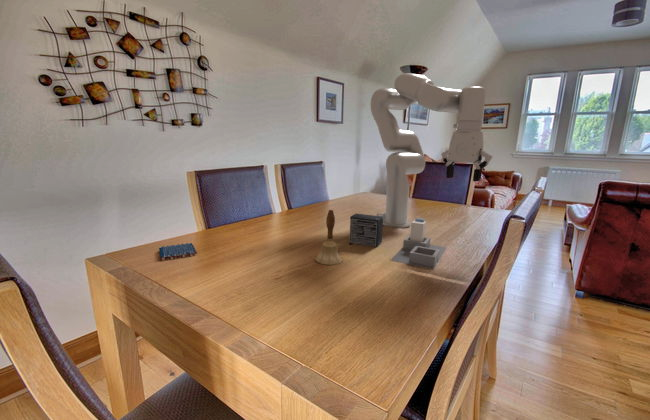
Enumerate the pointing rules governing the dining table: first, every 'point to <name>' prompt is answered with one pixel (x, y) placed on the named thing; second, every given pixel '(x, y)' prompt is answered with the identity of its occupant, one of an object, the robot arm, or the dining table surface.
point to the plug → (418, 230)
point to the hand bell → (329, 245)
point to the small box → (366, 229)
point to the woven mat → (177, 251)
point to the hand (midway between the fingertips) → (462, 179)
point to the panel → (419, 253)
